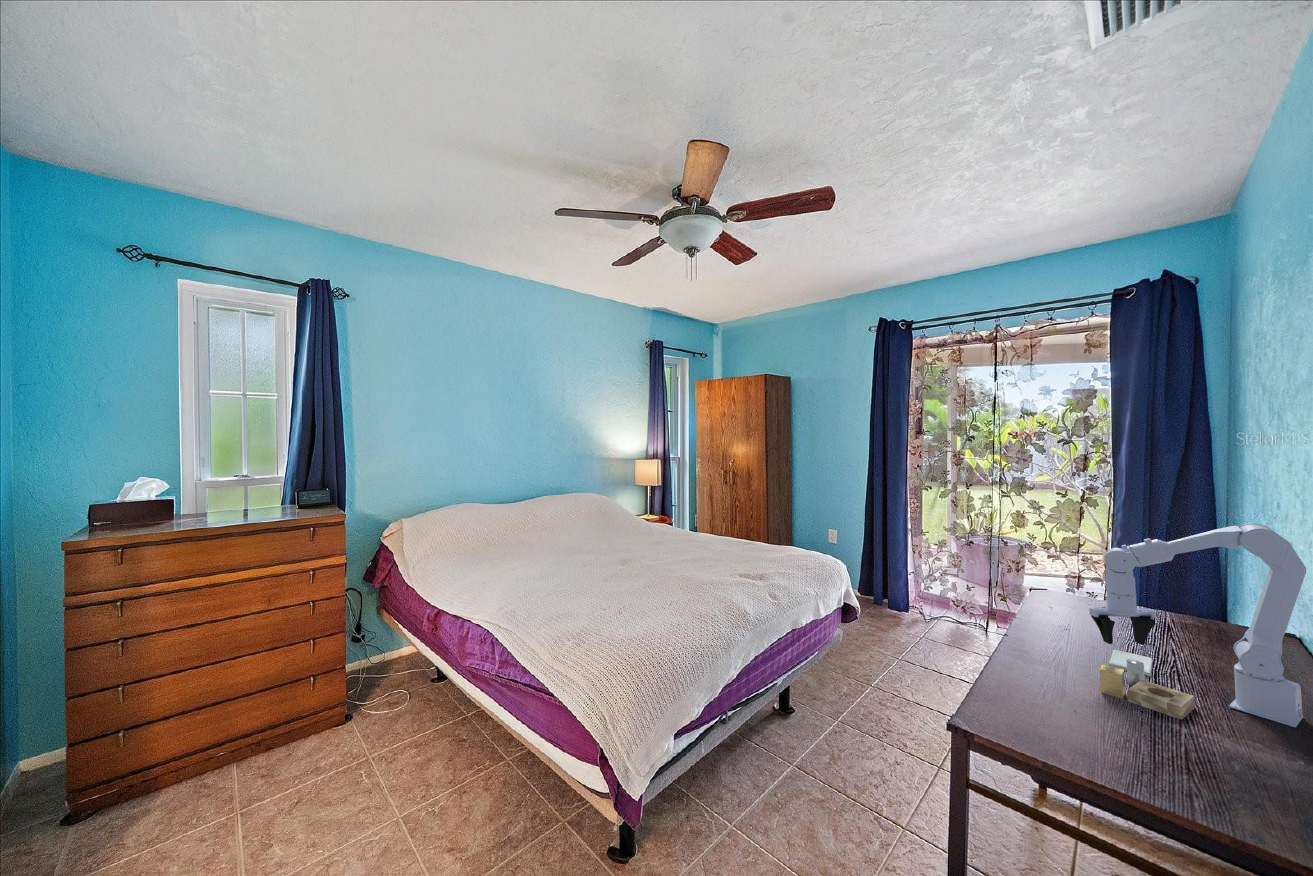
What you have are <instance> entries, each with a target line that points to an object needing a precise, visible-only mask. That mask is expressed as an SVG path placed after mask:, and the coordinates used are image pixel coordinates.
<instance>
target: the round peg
mask: <svg viewBox="0 0 1313 876" xmlns="http://www.w3.org/2000/svg"><path fill="white" fill-rule="evenodd" d="M1126 661H1127V671H1126V678H1127V684H1128V685H1129V686H1131V687H1132V686H1134V685H1135V684H1136V683H1138V682H1139V681H1141V680H1144V681H1146V680H1145V679H1146V678H1145V675H1144V664H1143V663H1142V662H1140V661H1137V660H1131V659H1128V660H1126Z"/></svg>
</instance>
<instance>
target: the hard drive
mask: <svg viewBox="0 0 1313 876" xmlns="http://www.w3.org/2000/svg"><path fill="white" fill-rule="evenodd" d="M1128 659H1131V660H1137V661H1140V662H1142V663H1143V664H1144V676H1147V677H1151V675H1152V670H1153V658H1152V657H1148V656H1144V655H1140V654H1136V653H1130V652H1127V651H1122V650H1118V649H1113V651H1112V653H1111V656H1110V659H1109V662H1108V666H1111V667H1114V668H1118V669H1122V670H1124V672H1127V661H1126V660H1128Z"/></svg>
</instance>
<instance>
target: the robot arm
mask: <svg viewBox="0 0 1313 876" xmlns="http://www.w3.org/2000/svg"><path fill="white" fill-rule="evenodd" d="M1241 546H1242V547H1243V549H1245V550H1246V551H1247V552H1248V553H1251V554H1252V555H1253V556H1256V557H1258V558H1260V559H1261V560H1262V562H1264V563H1265V565H1266V566H1268V567H1269V569H1268V572H1267V575H1266V578H1265V580H1264V583H1263V586H1262V589H1261V592H1260V595H1259V599H1258V602H1257V604H1256V607H1255V610H1254V613H1253V617H1252V619H1251V622H1250V625H1249V627H1248V629H1247V630H1246V631H1245V632H1244V635H1243V637H1242V638H1241V639H1239V640H1238V641H1236V642H1235V643H1234V644H1233V651H1234V655H1236V657H1237V658H1238V662H1237V663H1235V664H1234V665H1233V671H1234V672H1233V673H1234V690H1235V691H1234V692H1235V693H1234V694H1235V699H1234V700H1233V701H1232V702H1231V703H1230V704H1229V708H1231V709H1235V710H1238V711H1241V712H1244V713H1248V714H1251V715H1254V716H1257V717H1261V718H1262V719H1263V718H1264V719H1267V720H1269V721H1273V722H1276V723H1280V724H1283V725H1286V726H1289V727H1292V728H1297V726H1299V724H1300V722H1301V721H1302V720H1303V718H1304V715H1303V713H1304V712H1303V701H1302V689H1301V685H1300V684H1299V683H1297V682H1294V681H1291V680H1288V679H1286V678H1285V675H1283V674H1284V671H1285V668H1284V665H1283V663H1282V655H1283V640H1284V636H1285V633H1286V631H1287V628H1288V627H1289V626H1288V625H1289V623H1290V620H1291V617H1292V614H1293V612H1294V611H1293V610H1294V608H1295V605H1296V603H1297V599H1298V597H1299V593H1300V592H1301V589H1302V585H1303V583H1304V579H1305V576H1306V574H1307V566H1306V565H1305V564H1304V562H1303V561H1302V559H1301V558H1300V556H1299V554H1298V553H1297V552H1296V550H1295V549H1294V547H1293V544H1292V543H1291V542H1290V541H1288V540H1287V539H1286V538H1284V537H1283V536H1281V534H1279V533H1277V532H1276V531H1274V530H1273V529H1272V528H1270V527H1268V526H1266V525H1264V524H1261V523H1254V522H1253V523H1252V522H1250V523H1248V522H1247V523H1244V524H1241V525H1240V526H1238V525H1231V526H1224V527H1222V528H1221V527H1220V528H1216V529H1211V530H1209V531H1206V532H1205V531H1203V532H1201V533H1197V534H1194V535H1193V534H1192V535H1190V536H1186V537H1182V538H1178V539H1175V540H1174V539H1173V540H1170V541H1164V540H1160V539H1157V538H1156V539H1151V538H1150V537H1149V538H1144V539H1143V542H1139V543H1134V544H1130V545H1126V544H1122V545H1121V548H1119V547H1111V548H1109V549H1107V551H1105V554H1104V555H1103V557H1104V558H1103V559H1104V560H1103V561H1104V564H1105V566H1106V567H1105V572H1106V573H1105V588H1106V589H1105V590H1106V592H1105V593H1106V605H1103V606H1096V607H1088V609H1089V610H1088V611H1089V615H1090V618H1092V620H1093V621H1094V623H1095V624H1096V626H1097V628H1098V630H1099V632H1100V635H1101V638H1102V640H1103V642H1104V643H1107V644H1108V645H1113V642H1114V637H1113V633H1114V632H1113V630H1114V626H1115V624H1116V622H1115V621H1114V620H1112V619H1111V617H1120V618H1122V617H1124V618H1127V617H1129V618H1130V621H1131V624H1132V628H1133V629H1132V630H1133V639H1134V642H1135V643H1136V644H1139V645H1141V646H1145V644H1146V641H1147V638H1148V636H1149V634H1150V631H1151V629H1152V628H1153V627H1154V626H1156V620H1155V619H1156V618H1157V612H1156V610H1155V609H1151V608H1146V607H1145V608H1143V607H1137V591H1136V589H1137V588H1136V578H1135V576H1134V569H1135V568H1137V567H1139V568H1142V567H1147V566H1153V565H1156V564H1162V563H1165V562H1167V563H1168V562H1171V561H1173V559H1174V558H1175V557H1174V556H1175V555H1178V554H1184V553H1185V554H1186V553H1189V552H1195V551H1199V550H1206V549H1211V548H1217V547H1219V548H1220V547H1221V548H1226V549H1231V550H1236V551H1240V548H1239V547H1241Z"/></svg>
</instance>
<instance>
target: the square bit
mask: <svg viewBox="0 0 1313 876" xmlns="http://www.w3.org/2000/svg"><path fill="white" fill-rule="evenodd" d="M1099 679H1100V681H1099V682H1100V693H1102V694H1105V695H1108V696H1112V697H1114V696H1115V697H1114V698H1119V699H1122V700H1123V699H1124V697H1125V695H1126V684H1125V683H1126V682H1125V670H1122V669H1118V668H1114V667H1111V666H1109V665H1106V664H1102V665H1101V666H1100V668H1099Z"/></svg>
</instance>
